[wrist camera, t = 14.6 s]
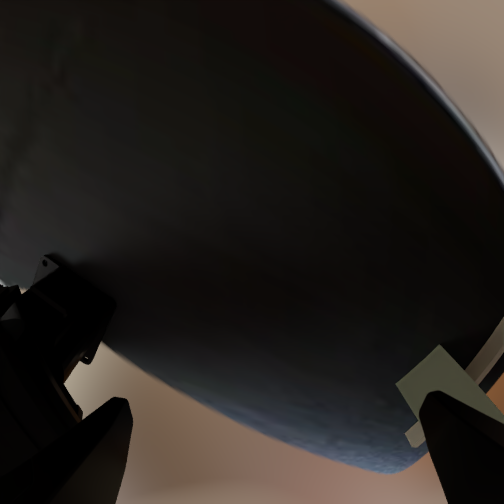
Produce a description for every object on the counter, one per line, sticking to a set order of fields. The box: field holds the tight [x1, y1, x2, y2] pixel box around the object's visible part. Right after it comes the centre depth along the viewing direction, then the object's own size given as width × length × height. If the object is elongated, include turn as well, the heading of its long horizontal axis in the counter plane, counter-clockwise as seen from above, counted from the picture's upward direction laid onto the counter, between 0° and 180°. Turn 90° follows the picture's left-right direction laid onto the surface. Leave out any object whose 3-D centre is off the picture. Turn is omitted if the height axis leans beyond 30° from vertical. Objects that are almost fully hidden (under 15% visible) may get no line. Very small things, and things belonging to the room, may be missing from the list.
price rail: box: [405, 317, 504, 448], centre depth 22 cm, size 17×2×2 cm, turn 147°
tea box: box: [396, 344, 504, 426], centre depth 17 cm, size 5×5×12 cm
